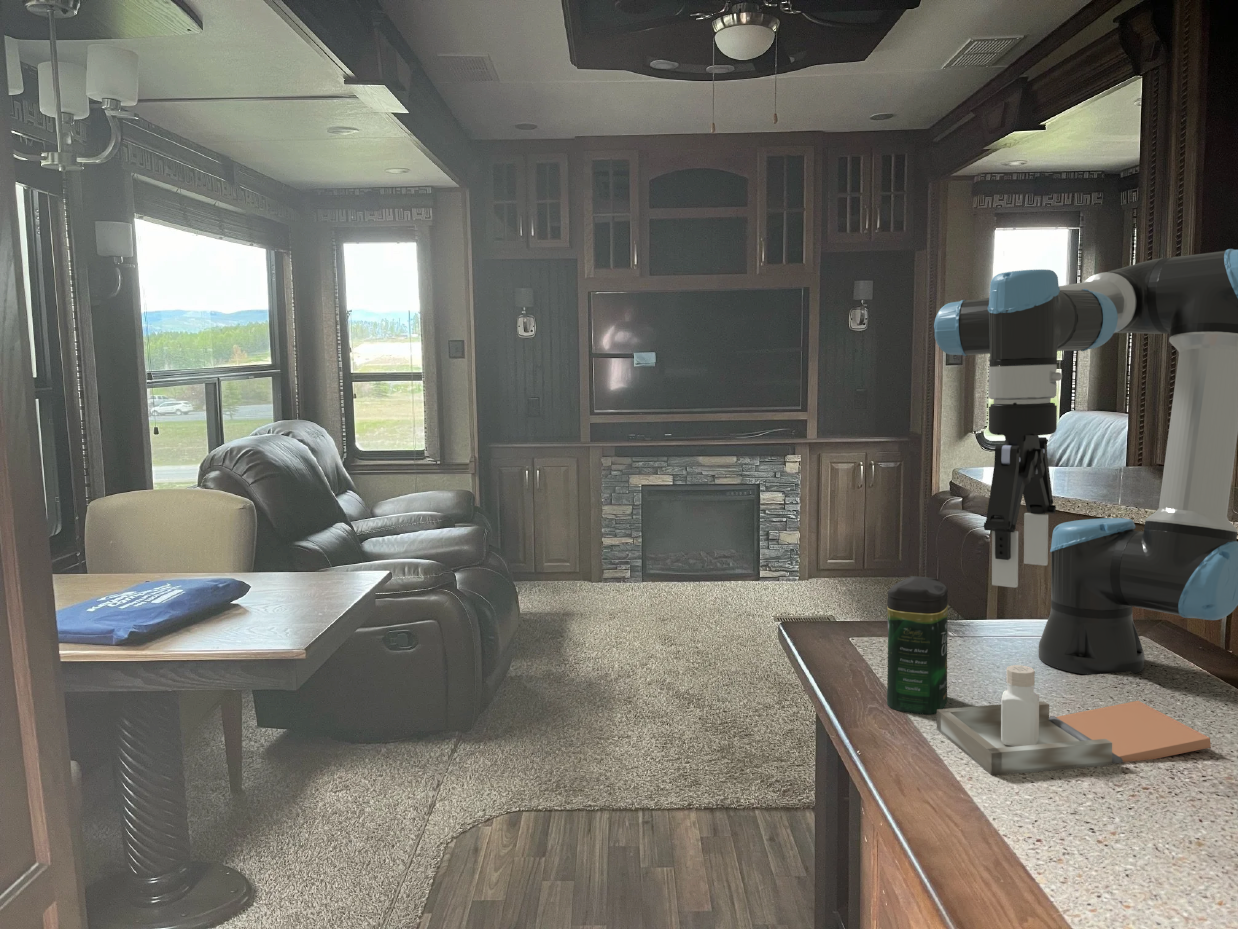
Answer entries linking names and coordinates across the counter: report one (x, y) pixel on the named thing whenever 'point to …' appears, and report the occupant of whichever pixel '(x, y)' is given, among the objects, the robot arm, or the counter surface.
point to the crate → (983, 744)
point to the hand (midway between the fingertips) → (1021, 574)
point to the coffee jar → (917, 645)
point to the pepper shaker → (1020, 708)
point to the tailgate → (1133, 731)
